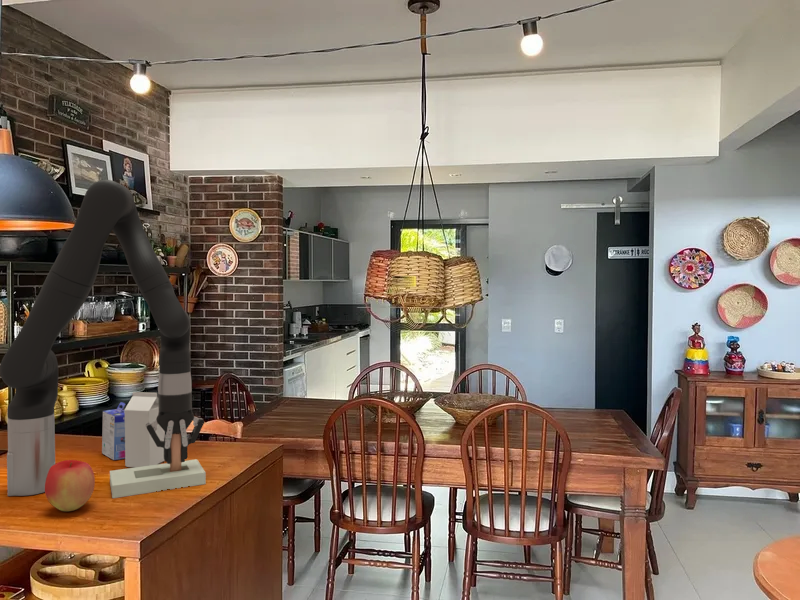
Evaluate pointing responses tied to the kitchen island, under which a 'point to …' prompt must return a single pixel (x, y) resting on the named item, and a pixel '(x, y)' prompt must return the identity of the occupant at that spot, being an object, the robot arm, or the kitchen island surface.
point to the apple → (69, 484)
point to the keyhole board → (155, 478)
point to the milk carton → (142, 431)
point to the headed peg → (175, 452)
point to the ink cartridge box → (114, 433)
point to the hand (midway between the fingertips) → (175, 461)
